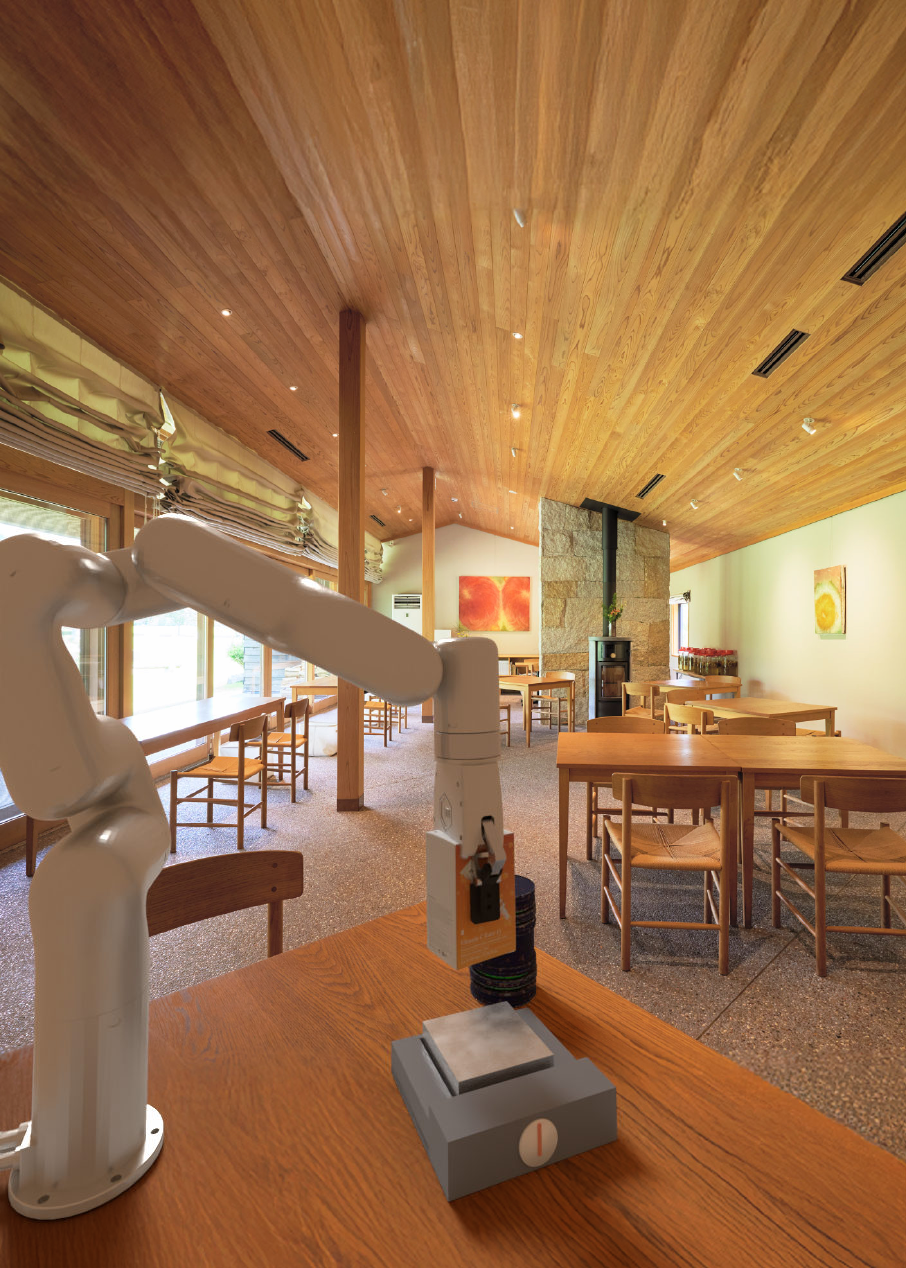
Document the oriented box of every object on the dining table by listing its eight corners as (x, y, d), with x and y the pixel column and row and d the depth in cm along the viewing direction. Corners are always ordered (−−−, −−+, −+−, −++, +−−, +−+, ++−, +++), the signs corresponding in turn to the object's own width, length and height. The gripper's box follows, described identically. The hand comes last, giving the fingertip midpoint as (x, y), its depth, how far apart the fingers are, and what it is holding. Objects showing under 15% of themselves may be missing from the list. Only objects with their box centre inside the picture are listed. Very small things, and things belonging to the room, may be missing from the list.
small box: (456, 973, 61) (454, 844, 62) (425, 949, 67) (423, 830, 67) (518, 951, 66) (515, 831, 66) (484, 930, 71) (482, 819, 72)
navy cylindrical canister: (551, 998, 84) (549, 890, 85) (490, 1016, 80) (489, 902, 81) (514, 966, 93) (513, 869, 94) (457, 980, 89) (457, 878, 90)
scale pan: (458, 1113, 59) (458, 1082, 59) (422, 1047, 69) (422, 1021, 70) (554, 1083, 63) (553, 1054, 64) (506, 1026, 74) (506, 1001, 74)
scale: (450, 1206, 52) (450, 1146, 52) (391, 1072, 69) (391, 1027, 69) (620, 1143, 58) (619, 1090, 59) (528, 1035, 76) (527, 995, 76)
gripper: (412, 740, 74) (415, 886, 73) (466, 759, 58) (470, 947, 57) (468, 736, 77) (471, 877, 76) (534, 754, 60) (539, 933, 60)
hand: (471, 906), depth 66 cm, fingers closed on small box, 7 cm apart
